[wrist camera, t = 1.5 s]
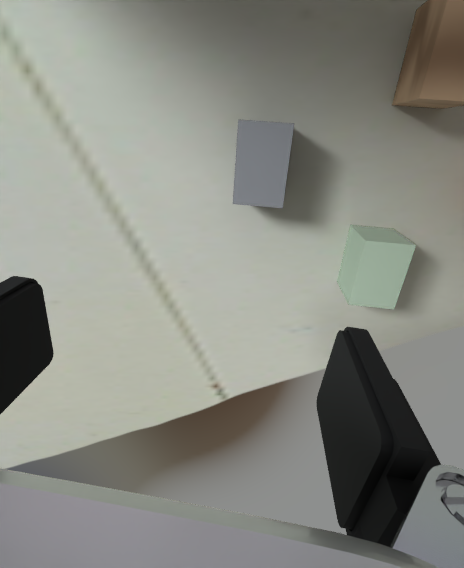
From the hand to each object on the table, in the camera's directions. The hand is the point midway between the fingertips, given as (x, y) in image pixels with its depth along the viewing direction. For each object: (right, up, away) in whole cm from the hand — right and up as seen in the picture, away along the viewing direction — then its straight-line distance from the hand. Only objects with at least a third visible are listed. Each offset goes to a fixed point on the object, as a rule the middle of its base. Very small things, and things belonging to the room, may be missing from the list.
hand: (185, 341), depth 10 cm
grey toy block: (+4, +13, +18) cm, 23 cm away
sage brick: (+15, +5, +21) cm, 26 cm away
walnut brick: (+17, +19, +14) cm, 29 cm away
